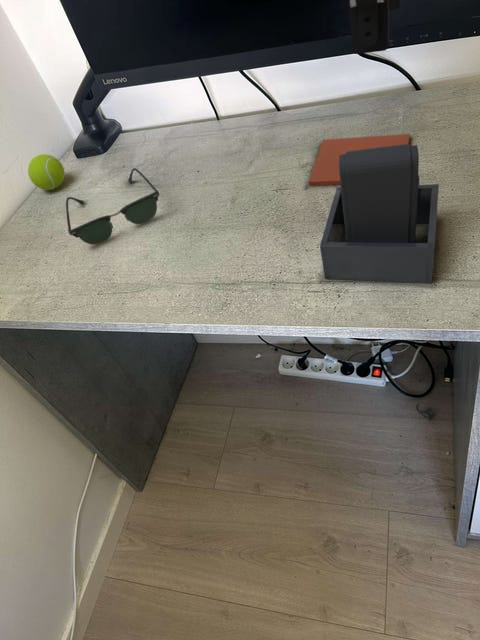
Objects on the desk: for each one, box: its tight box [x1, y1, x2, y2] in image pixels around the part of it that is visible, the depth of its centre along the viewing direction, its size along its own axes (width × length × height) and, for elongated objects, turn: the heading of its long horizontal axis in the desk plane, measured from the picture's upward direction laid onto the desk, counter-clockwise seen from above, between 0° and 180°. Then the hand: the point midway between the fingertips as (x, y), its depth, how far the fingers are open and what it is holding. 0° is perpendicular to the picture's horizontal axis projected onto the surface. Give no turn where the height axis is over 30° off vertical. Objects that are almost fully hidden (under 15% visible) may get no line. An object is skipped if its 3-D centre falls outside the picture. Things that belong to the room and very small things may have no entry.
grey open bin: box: [319, 183, 440, 284], centre depth 66 cm, size 14×13×6 cm
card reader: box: [339, 143, 420, 243], centre depth 63 cm, size 9×4×15 cm, turn 81°
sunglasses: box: [65, 167, 160, 246], centre depth 89 cm, size 16×17×5 cm
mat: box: [308, 133, 411, 186], centre depth 83 cm, size 15×13×1 cm
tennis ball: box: [27, 153, 66, 191], centre depth 101 cm, size 7×7×7 cm
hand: (377, 29), depth 48 cm, fingers open, 9 cm apart
